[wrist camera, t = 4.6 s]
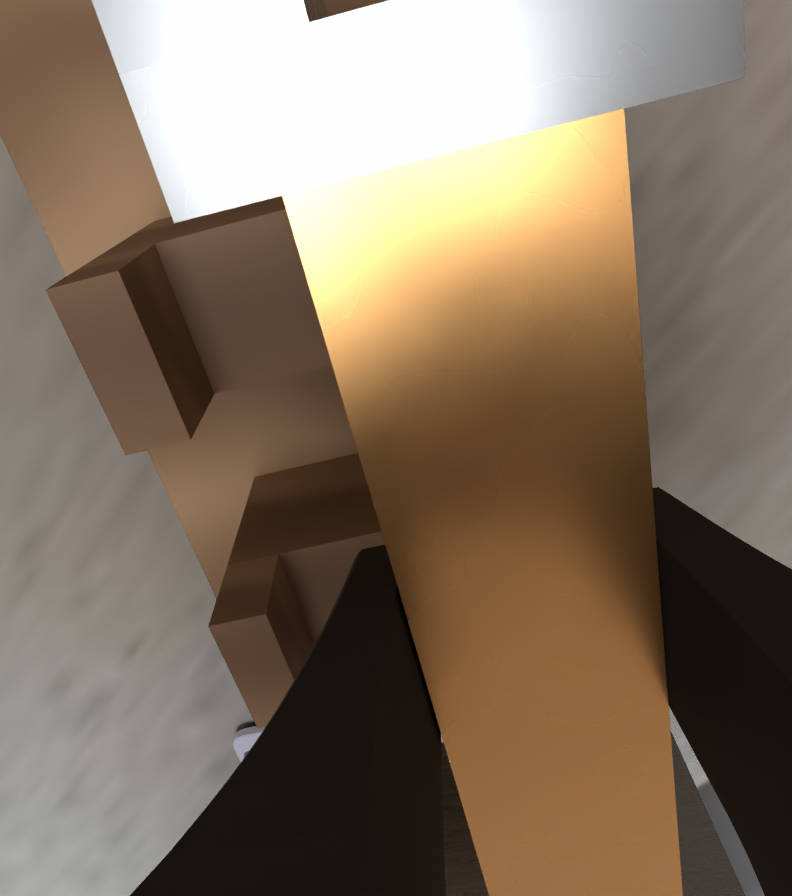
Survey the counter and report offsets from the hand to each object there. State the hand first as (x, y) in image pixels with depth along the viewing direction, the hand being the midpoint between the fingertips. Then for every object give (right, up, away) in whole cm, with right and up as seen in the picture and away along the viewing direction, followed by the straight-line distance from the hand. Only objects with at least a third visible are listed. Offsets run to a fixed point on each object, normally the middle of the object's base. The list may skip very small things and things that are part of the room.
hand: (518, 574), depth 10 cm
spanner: (0, +1, +2) cm, 2 cm away
